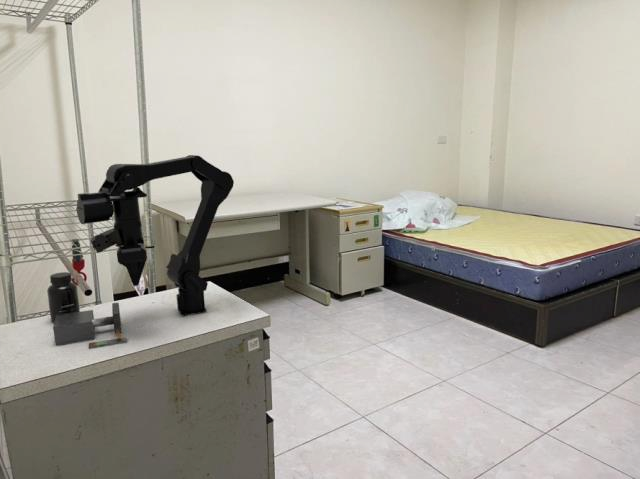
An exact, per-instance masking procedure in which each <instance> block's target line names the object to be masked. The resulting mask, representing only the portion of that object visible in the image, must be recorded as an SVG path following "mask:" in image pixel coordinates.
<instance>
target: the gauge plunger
mask: <svg viewBox="0 0 640 479" xmlns="http://www.w3.org/2000/svg"><path fill="white" fill-rule="evenodd" d="M111 304H112V305H111V307H112V312H111V314H112V316H106V317H98V318H94V319H93V320H92V321H93V328H94V327H95V328H98V327H99V328H100V327H106V326H112V325H113V329H114V330H113V331H114V334H115V339H118V338H121V334H122V321H121V320H122V319H121V312H120V304H119V302H118V301H117V302H114V303H113V302H112V303H111Z"/></svg>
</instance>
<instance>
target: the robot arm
mask: <svg viewBox="0 0 640 479" xmlns="http://www.w3.org/2000/svg"><path fill="white" fill-rule="evenodd" d="M106 170H107V171H106V173H105V177H106V178H105V179H104V181H103V183H102V184H101V187H100V188H99V190H98V192H91V193H86V192H81V193H77V200H76V207H75V210H76V215H77V218H78V221H79V222H80V224H81V225H87V224H94V223H100V222H107V221H109V220H110V218H113V216H114V222H113V228H110V229H108V230H105V231H103V232H100V233H98V234H96V235H94V236H92V237H91V238H90V243H91V245H92V248H93V249H94V250H95V252H96V253H98V254H99V253H101V252H104V251H105V250H106V249H108V248H110V247H113V246H114V245H115V246H116V247H117V250H116V259H117V262H118V264H120V265H122V266H123V267H126V268H125V269H126V270H127V272H128V275H129V277H130V280H131V283H132V286H133V287H138V286H139V285H140V280H141V277H142V275H143V271H144V268H145V265H146V262H147V259H148V256H147V249H146V248H147V247H145V245H144V244H145V242H144V234H143V229H142V227H143V226H142V220H141V212H140V211H141V210H140V202H139V198H140V199H141V198H146V197H148V194H147V193H145V192H144V191H142V189H141V188H140V187H141V186H143V185H146V184H147V183H149V182H151V181H153V180H157V179H163V178H168V177H172V176H177V175H182V174H187V173H191V174H192V175H194V177H195V178H196V179H197V180H199V181H200V182H201V186H200V196H201V197H200V198H201V200H200V203H199V205H198V208H197V210H196V212H195V216H194V219H193V220H192V224H191V226H190V229H189V232H188V234H187V237H186V238H185V242H184V243H183V246H182V249H181V251H179V252H178V253H177V254H175V253H171V255H170V259H169V262H168V264H167V265H166V267H165V268H166V269H167V272H166V275H167V278H168V279H169V281H171V282H172V283H173V284H174V286H175V287H177V291H178V292H177V294H176V307H177V310H178V312H179V313H180V315H181V316H183V317H184V316H189V315H190V316H191V315H196V314H201V313H202V314H203V313H207V308H206V306H205V305H206V304H205V291H207V289H208V285H209V283H208V282H207V281H206V280H205V279H203V278H202V277H201V276H200V272H201V254H202V251H203V248H204V246H205V243H206V240H207V237H208V235H209V233H210V230H211V227H212V224H213V222H214V219H215V217H216V214H217V211H218V208H219V207H220V205H221V204H222V203H224V201H225V200H226V199H227V198H228V197H229V195H230V193H231V191H232V189H233V188H234V185H235V184H234V183H235V181H234V179H233V176H232V175H231V174H230V173H229V172H228V171H222V170H221V169H220V168H218V167H217V166H215V165H213V164H212V163H210V162H209V161H207V160H205V159H204V158H203V157H202V156H200V155H198V154H197V155H193V154H190V155H189V154H188V155H187V156H181V157H177V158H172V159H167V160H160V161H156V162H150V163H142V164H141V163H140V164H139V163H114V164H112V165H110V166H109V167H108V169H106Z"/></svg>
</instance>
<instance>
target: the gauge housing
mask: <svg viewBox="0 0 640 479" xmlns="http://www.w3.org/2000/svg"><path fill="white" fill-rule="evenodd" d="M93 319H95V315H94V309H89V310H83V311H80V312H74V313H67V314H60V315H56V318H55V322H53V326H52V330H53V336H54V338H53V339H54V343H55V344H54V345H55V346H56V347H57V346H62V345H69V344H73V343H82V342H87V341H93V340H95V330H96V327H94V328H93V321H92V320H93ZM127 339H128V338H127V336H126V337H120V338H118V339H116V338H113V339H104V340H99V341H98V340H97V341H93V342H88V349H89V350H91V349H97V348H102V347H109V346H113V345H121V344H125V343H128V340H127Z"/></svg>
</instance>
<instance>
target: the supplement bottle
mask: <svg viewBox="0 0 640 479" xmlns="http://www.w3.org/2000/svg"><path fill="white" fill-rule="evenodd" d="M49 277H50V281H49V282H50V285H49V286H48V288H47V299H48V301H47V302H48V306H49V308H48V309H49V316H50V320H51V322H53V323H54V322H55V318H56V315H60V314H67V313H74V312H81V311H80V309H81V308H80V301H79V293H78V285H77V284H76V283H74V282H73V276H72V273H71V272H65V271H63V272H62V271H61V272H56V273H53V274H51V275H50V276H49Z"/></svg>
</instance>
